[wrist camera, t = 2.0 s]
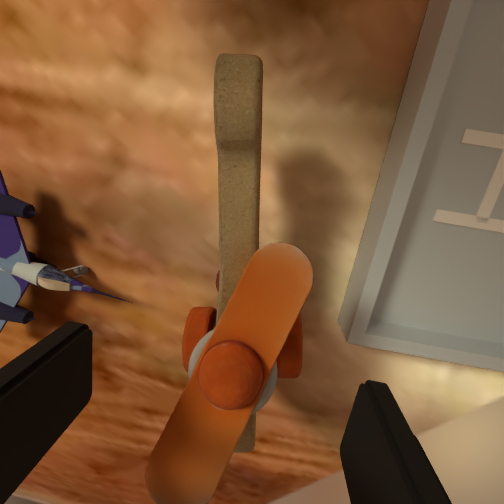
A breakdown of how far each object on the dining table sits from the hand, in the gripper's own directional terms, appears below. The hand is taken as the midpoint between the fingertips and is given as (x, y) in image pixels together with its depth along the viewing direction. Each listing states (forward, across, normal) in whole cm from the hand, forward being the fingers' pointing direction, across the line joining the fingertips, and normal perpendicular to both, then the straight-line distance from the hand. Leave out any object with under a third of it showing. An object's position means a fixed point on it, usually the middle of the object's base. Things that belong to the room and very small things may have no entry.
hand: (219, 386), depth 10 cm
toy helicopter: (+13, 0, -1) cm, 13 cm away
